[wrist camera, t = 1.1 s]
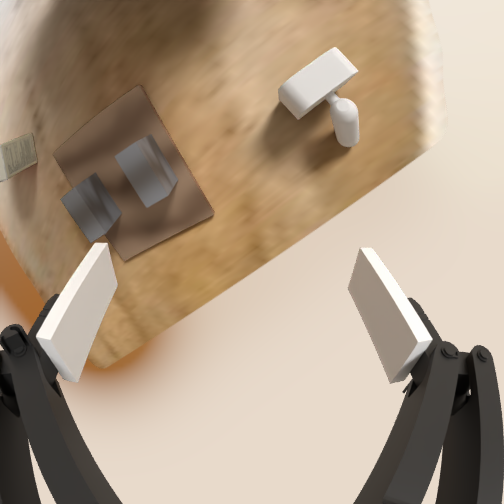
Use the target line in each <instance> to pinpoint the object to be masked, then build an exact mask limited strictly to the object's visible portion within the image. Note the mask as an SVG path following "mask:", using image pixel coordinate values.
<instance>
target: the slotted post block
mask: <svg viewBox="0 0 504 504" xmlns="http://www.w3.org/2000/svg"><path fill="white" fill-rule="evenodd" d="M53 156H54V157H55V159H56V161H57V163H58V164H59V166H60V168H61V169H62V171H63V173H64V174H65V176H66V178H67V179H68V181H69V182H70V184H71V186H72V187H73V189H72V190H71V191H69V192H68V193H67V194H66V195H65V196H64V197H62V198H61V199H60V200H61V201H62V203H63V204H64V206H65V207H66V209H67V210H68V212H69V213H70V215H71V216H72V218H73V219H74V221H75V222H76V223H77V225H78V226H79V228H80V229H81V231H82V232H83V233H84V235H85V236H86V238H87V239H88V240H89V242H90V243H92V242H93V241H95V240H96V239H98V238H99V237H101V236H102V235H105V236H106V237H107V239H108V240H109V241H110V243H111V244H112V246H113V247H114V248H115V250H116V251H117V252H118V254H119V255H120V256H121V258H122V259H123V260H124V261H125V260H127V259H129V258H131V257H133V256H135V255H137V254H138V253H140V252H142V251H144V250H146V249H148V248H150V247H152V246H153V245H155V244H157V243H159V242H161V241H163V240H165V239H167V238H169V237H171V236H173V235H175V234H177V233H179V232H181V231H182V230H184V229H186V228H188V227H190V226H192V225H194V224H196V223H198V222H200V221H202V220H205V219H207V218H209V217H211V216H213V215H214V210H213V209H212V207H211V205H210V204H209V202H208V200H207V198H206V197H205V195H204V193H203V192H202V190H201V188H200V186H199V185H198V183H197V181H196V180H195V178H194V176H193V174H192V173H191V171H190V169H189V168H188V166H187V164H186V162H185V161H184V159H183V157H182V156H181V154H180V152H179V150H178V149H177V147H176V145H175V143H174V142H173V140H172V138H171V136H170V135H169V133H168V131H167V129H166V128H165V126H164V124H163V123H162V121H161V119H160V117H159V116H158V114H157V112H156V110H155V108H154V107H153V105H152V103H151V101H150V100H149V98H148V96H147V94H146V93H145V91H144V89H143V87H142V86H141V85H138V86H136V87H135V88H133V89H132V90H130V91H129V92H127V93H126V94H124V95H123V96H122V97H120V98H119V99H117V100H116V101H115V102H113V103H112V104H111V105H109V106H108V107H107V108H105V109H104V110H103V111H101V112H100V113H99V114H98V115H96V116H95V117H94V118H92V119H91V120H90V121H89V122H88V123H86V124H85V125H84V126H83V127H82V128H80V129H79V130H78V131H77V132H76V133H75V134H73V135H72V136H71V137H70V138H69V139H68V140H67V141H66V142H65V143H63V144H62V145H61V146H60V147H59V148H58V149H57V150H56V151H55V152H54V153H53Z"/></svg>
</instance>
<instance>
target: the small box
mask: <svg viewBox="0 0 504 504" xmlns="http://www.w3.org/2000/svg"><path fill="white" fill-rule="evenodd" d="M36 163H37V157H36V151H35V146H34V141H33V135H32V133H29V134H27V135H24V136H21V137H18V138H16V139H13V140H11V141H8V142H6V143H3V144H1V145H0V182H3V181H5V180H8V179H9V178H11V177H13V176H14V175H16V174H18V173H19V172H21V171H23V170H25V169H27V168H28V167H30V166H32V165H34V164H36Z"/></svg>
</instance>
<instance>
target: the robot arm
mask: <svg viewBox="0 0 504 504" xmlns="http://www.w3.org/2000/svg"><path fill="white" fill-rule="evenodd" d="M117 286H118V284H117V280H116V277H115V273H114V269H113V265H112V260H111V256H110V252H109V247H108V243H95V244H94V245H93V247H92V248H91V249H90V251H89V252H88V253H87V255H86V256H85V258H84V259H83V261H82V262H81V263H80V265H79V266H78V268H77V269H76V271H75V272H74V274H73V275H72V277H71V278H70V280H69V281H68V283H67V284H66V286H65V288H64V289H63V291H62V292H61V294H55V295H54V296H53V297H51V298H50V299H49V300H48V301H47V303H46V304H45V306H44V308H43V310H42V311H41V313H40V314H39V317H38V318H37V320H36V321H35V323H34V325H33V326H32V328H31V330H30V332H29V334H28V335H27V334H26V333H25V331H24V329H23V328H22V326H20V325H19V324H13V325H9V326H8V327H6V328H5V329H4V330H3V331H2V332H1V334H0V345H1V346H2V347H3V349H4V350H2V351H0V504H41V501H40V498H39V494H38V490H37V486H36V482H35V477H34V473H33V467H32V462H31V456H30V450H29V442H30V445H31V448H32V450H33V453H34V456H35V458H36V461H37V463H38V466H39V468H40V470H41V473H42V475H43V477H44V480H45V482H46V484H47V486H48V488H49V490H50V492H51V494H52V496H53V498H54V500H55V502H56V504H122V502H121V501H120V500H119V498H118V497H117V495H116V494H115V492H114V491H113V489H112V488H111V486H110V485H109V483H108V482H107V480H106V479H105V477H104V475H103V474H102V472H101V470H100V469H99V467H98V465H97V464H96V462H95V461H94V458H93V457H92V455H91V453H90V451H89V449H88V448H87V446H86V444H85V442H84V440H83V438H82V436H81V434H80V432H79V430H78V428H77V425H76V423H75V421H74V419H73V417H72V415H71V412H70V410H69V408H68V405H67V403H66V401H65V398H64V395H63V393H62V390H61V388H60V385H59V382H58V381H57V379H56V376H57V373H58V372H59V374H60V375H61V376H62V378H63V379H64V380H67V381H72V382H77V383H78V381H79V378H80V375H81V373H82V370H83V367H84V364H85V362H86V359H87V356H88V354H89V351H90V349H91V346H92V344H93V341H94V339H95V336H96V334H97V331H98V329H99V326H100V324H101V322H102V319H103V317H104V315H105V312H106V310H107V308H108V306H109V303H110V301H111V299H112V297H113V295H114V292H115V290H116V288H117ZM348 290H349V292H350V294H351V296H352V298H353V300H354V302H355V305H356V307H357V309H358V311H359V313H360V315H361V317H362V320H363V322H364V324H365V326H366V328H367V330H368V333H369V335H370V337H371V339H372V342H373V344H374V346H375V348H376V351H377V353H378V355H379V358H380V360H381V362H382V365H383V367H384V370H385V372H386V374H387V377H388V379H389V382H390V383H395V382H400V381H404V380H405V379H406V377H407V376H408V375H409V373H411V375H412V378H413V379H412V380H411V381H410V383H409V384H408V385H407V386H406V388H405V389H404V390H403V393H405V392H406V390H407V392H406V395H405V398H404V401H403V403H402V406H401V408H400V411H399V414H398V416H397V419H396V421H395V424H394V426H393V428H392V431H391V433H390V435H389V438H388V440H387V442H386V444H385V446H384V448H383V451H382V453H381V455H380V457H379V459H378V461H377V463H376V465H375V467H374V469H373V471H372V472H371V474H370V476H369V478H368V480H367V482H366V483H365V485H364V487H363V489H362V490H361V492H360V494H359V496H358V497H357V499H356V500H355V502H354V503H353V504H421V503H422V501H423V498H424V496H425V494H426V491H427V489H428V486H429V484H430V481H431V479H432V476H433V473H434V471H435V468H436V465H437V462H438V459H439V456H440V453H441V449H442V446H443V452H442V463H441V472H440V479H439V486H438V493H437V498H436V503H435V504H502V503H501V502H502V493H503V480H504V436H503V422H502V411H501V403H500V395H499V390H498V383H497V377H496V372H495V367H494V362H493V358H492V355H491V353H490V352H489V350H488V349H486V348H485V347H483V346H481V345H477V346H475V347H474V348H473V349H472V350H471V352H470V353H466V352H459V351H458V349H457V348H456V347H455V346H454V345H453V344H451V343H450V342H446V341H442V339H441V338H440V336H439V334H438V333H437V331H436V330H435V328H434V326H433V325H432V323H431V322H430V320H428V317H427V315H426V314H424V311H423V309H422V308H421V306H420V305H419V304H418V303H417V302H416V301H415V300H413V299H412V298H407V297H406V296H405V294H404V293H403V291H402V290H401V288H400V287H399V285H398V284H397V282H396V281H395V279H394V278H393V276H392V275H391V274H390V272H389V271H388V269H387V268H386V267H385V265H384V264H383V262H382V261H381V259H380V258H379V257H378V255H377V254H376V253H375V251H374V250H373V248H360V249H359V253H358V256H357V260H356V263H355V267H354V270H353V273H352V277H351V280H350V283H349V287H348ZM469 390H471V395H470V394H469ZM28 439H29V442H28Z"/></svg>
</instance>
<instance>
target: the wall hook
mask: <svg viewBox="0 0 504 504" xmlns="http://www.w3.org/2000/svg"><path fill="white" fill-rule="evenodd" d="M357 72H358V70H357V69H356V68H355V67H354V66H353V65H352V64H351V62H350V61H349V60H348V59H347V58H346V57H345V56H344V55H343V54H342V53H341V52H340V51H339V50H338V49H337V48H336V47H335V48H332V49H330V50H329V51H327V52H326V53H324V54H323V55H321V56H320V57H318V58H317V59H315V60H314V61H313V62H311V63H310V64H308V65H307V66H306V67H304V68H303V69H302V70H300V71H299V72H297V73H296V74H295V75H293V76H292V77H291V78H289V79H288V80H287V81H286V82H285V83H284V84H283V85H282V86H281V87H280V88H279V90H278V94H279V100H280V101H281V102H282V103H283V104H284V105H285V106H286V107H287V109H288V110H289V111H290V112H291V113H292V114H293V115H294V116H295V117H296V118H297V120H299V119H300V118H301V117H303V116H304V115H305V114H307V113H308V112H309V111H310V110H312V109H313V108H314V107H316V106H317V105H318V104H320V103H321V102H322V101H323V100H325V99H326V100H327V102H328V103H329V104H330V105H331V107H330V115H331V119H332V123H333V126H334V130H335V134H336V138H337V141H338V142H339V143H340V144H341V145H342V146H345V147H352V146H355V145H356V144H357V143H358V141H359V118H358V109H357V107H356V105H355V104H354V103H353V102H352V101H351V100H349V99H345V98H340V99H339V97H338V96H337V95H336V94H335V93H334V92H335V91H337V90H338V89H339V88H341V87H342V86H343V85H345V84H346V83H347V82H348V81H349V80H350V79H351V78H352V77H353V76H354V75H355V74H356V73H357Z"/></svg>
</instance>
